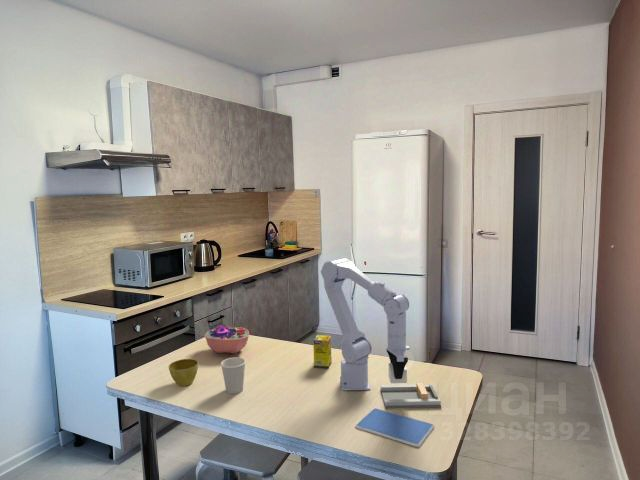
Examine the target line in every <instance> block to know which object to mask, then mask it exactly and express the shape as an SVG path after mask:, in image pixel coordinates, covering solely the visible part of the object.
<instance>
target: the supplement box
mask: <svg viewBox="0 0 640 480" xmlns="http://www.w3.org/2000/svg"><path fill="white" fill-rule="evenodd" d="M312 344H313V368H317V369H319V368H320V369H330V366H331V364H332V359H333V358H332V336H331V335H324V334H323V335H321V334H320V335H319V334H317V335H316V336H315V337H314V339H313V340H312Z"/></svg>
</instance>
